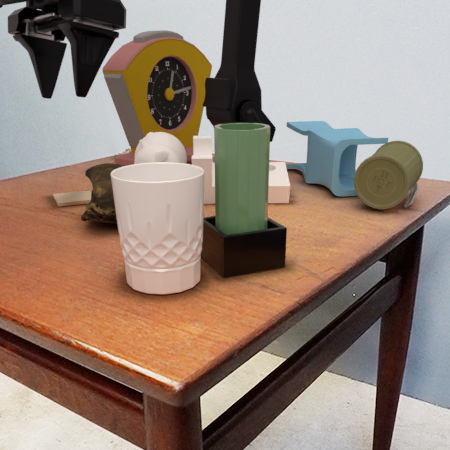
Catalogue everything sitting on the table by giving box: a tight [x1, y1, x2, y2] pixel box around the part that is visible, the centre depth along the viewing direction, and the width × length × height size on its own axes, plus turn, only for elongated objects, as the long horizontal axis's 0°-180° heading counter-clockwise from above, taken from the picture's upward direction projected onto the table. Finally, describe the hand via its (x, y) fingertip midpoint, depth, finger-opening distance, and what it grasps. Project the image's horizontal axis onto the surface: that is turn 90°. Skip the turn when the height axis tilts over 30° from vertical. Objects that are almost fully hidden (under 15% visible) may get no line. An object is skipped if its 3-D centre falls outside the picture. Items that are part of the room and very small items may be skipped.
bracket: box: [191, 135, 291, 205], centre depth 75 cm, size 13×7×8 cm, turn 91°
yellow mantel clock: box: [101, 30, 213, 166], centre depth 95 cm, size 22×9×22 cm, turn 141°
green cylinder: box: [213, 123, 271, 235], centre depth 51 cm, size 5×5×13 cm
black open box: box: [201, 215, 288, 278], centre depth 53 cm, size 6×6×4 cm
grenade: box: [354, 140, 424, 210], centre depth 74 cm, size 8×7×15 cm
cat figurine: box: [134, 132, 188, 164], centre depth 80 cm, size 9×11×12 cm
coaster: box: [52, 189, 92, 208], centre depth 76 cm, size 6×6×1 cm
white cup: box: [110, 162, 205, 295], centre depth 48 cm, size 8×8×10 cm
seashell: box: [80, 162, 123, 225], centre depth 67 cm, size 16×9×7 cm, turn 3°
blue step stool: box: [285, 120, 389, 197], centre depth 84 cm, size 8×8×20 cm
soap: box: [114, 148, 131, 157], centre depth 107 cm, size 10×4×1 cm, turn 171°
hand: (62, 97), depth 65 cm, fingers open, 9 cm apart
